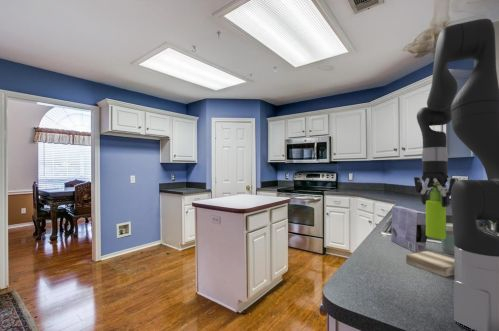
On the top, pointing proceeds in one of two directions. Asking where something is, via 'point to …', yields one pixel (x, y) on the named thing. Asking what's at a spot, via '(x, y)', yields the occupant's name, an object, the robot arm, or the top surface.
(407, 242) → the cake pan box
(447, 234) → the coffee cup
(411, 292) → the top surface
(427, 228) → the soap dispenser
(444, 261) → the birch stand
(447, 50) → the robot arm
